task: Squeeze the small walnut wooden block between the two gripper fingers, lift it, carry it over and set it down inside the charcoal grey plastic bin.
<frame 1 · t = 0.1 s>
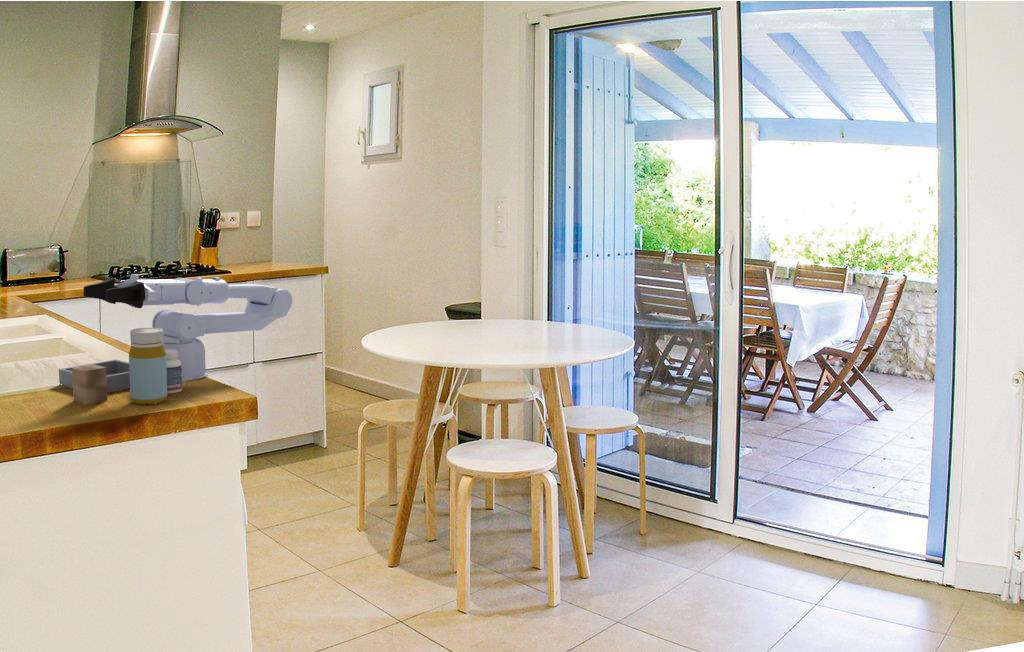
hand: (95, 293, 173), 22 cm above the worktop, tool horizontal, fingers open, 7 cm apart
pill bottle: (169, 391, 182), on the worktop
bin: (106, 384, 186), on the worktop
bottle: (149, 402, 173), on the worktop
walnut block: (90, 400, 172), on the worktop
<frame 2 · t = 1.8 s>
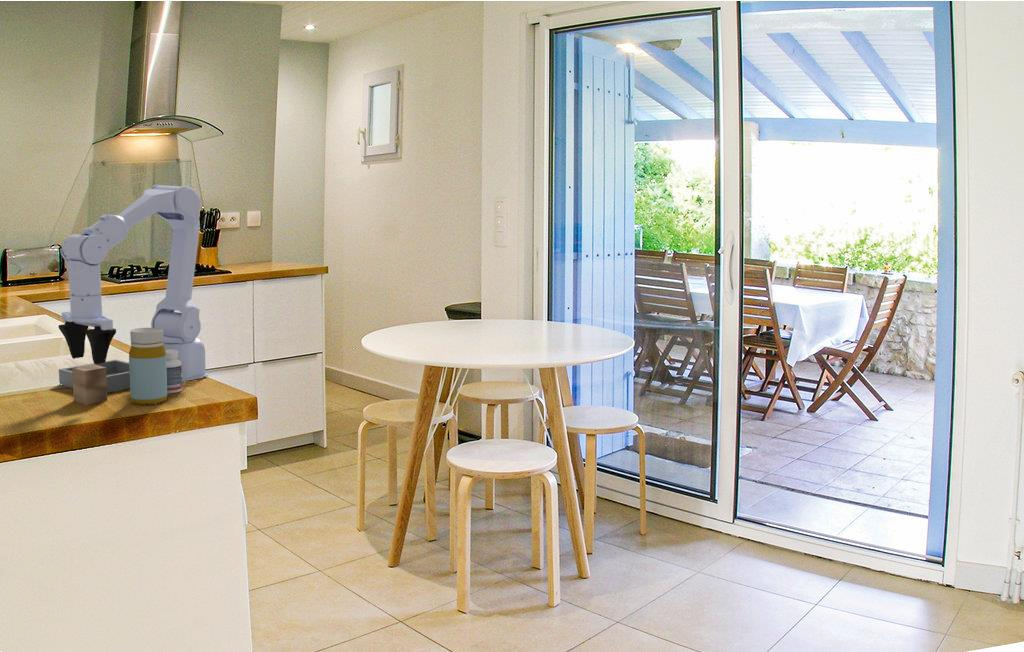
hand: (88, 360, 171), 8 cm above the worktop, tool pointing down, fingers open, 7 cm apart
nothing on the worktop moved.
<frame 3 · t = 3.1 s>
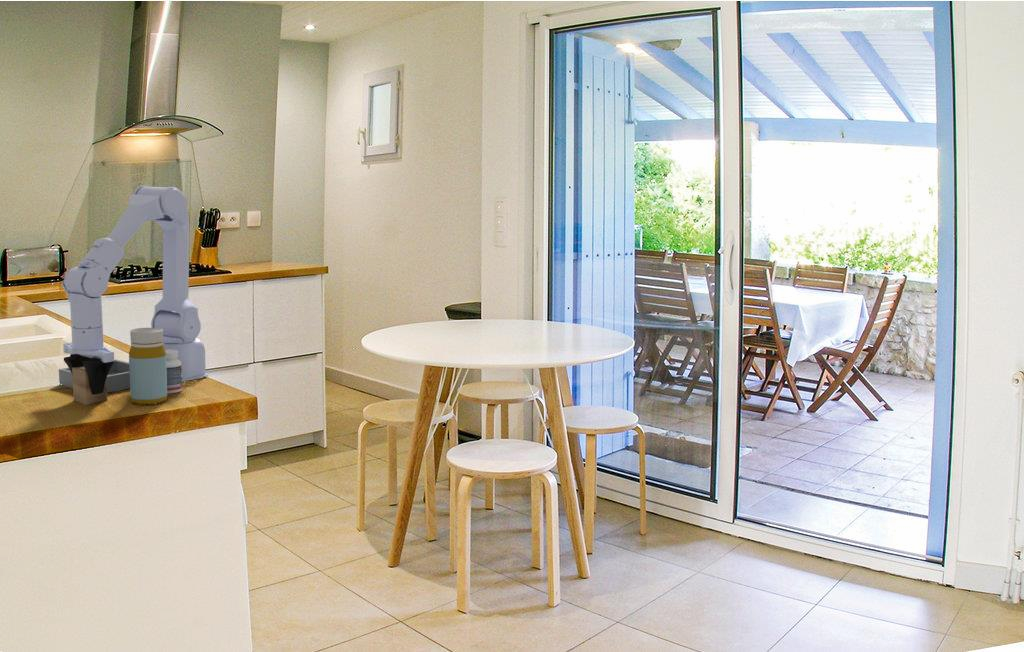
hand: (90, 391, 172), 2 cm above the worktop, tool pointing down, fingers closed on walnut block, 4 cm apart
walnut block: (90, 400, 172), on the worktop, touching gripper
everything else where it was.
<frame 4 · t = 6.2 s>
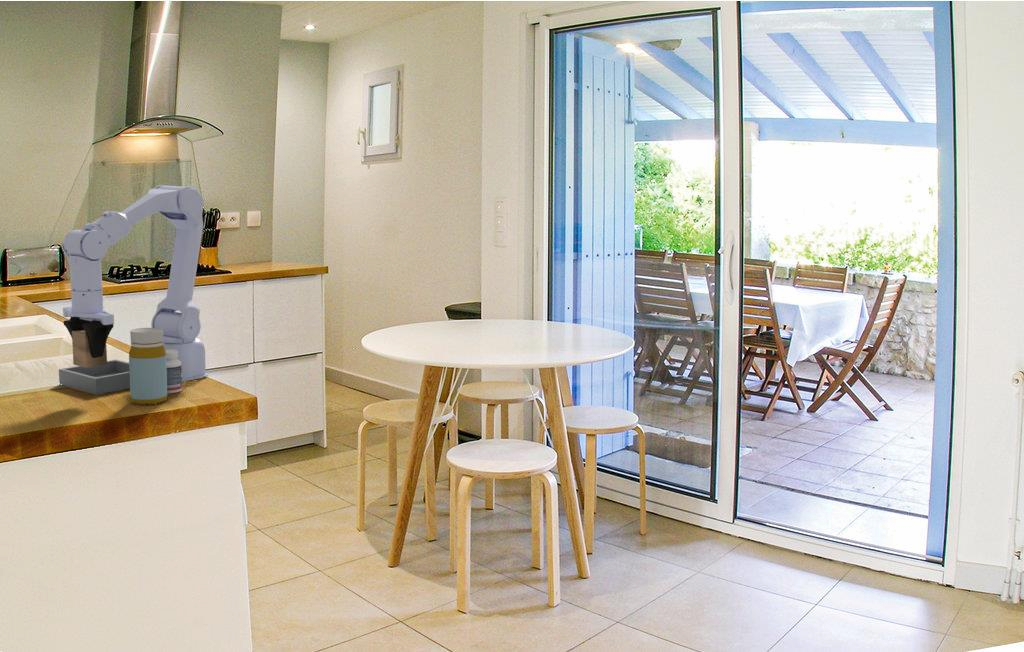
hand: (90, 355, 171), 9 cm above the worktop, tool pointing down, fingers closed on walnut block, 4 cm apart
walnut block: (90, 364, 172), point 7 cm above the worktop, touching gripper
everything else where it was.
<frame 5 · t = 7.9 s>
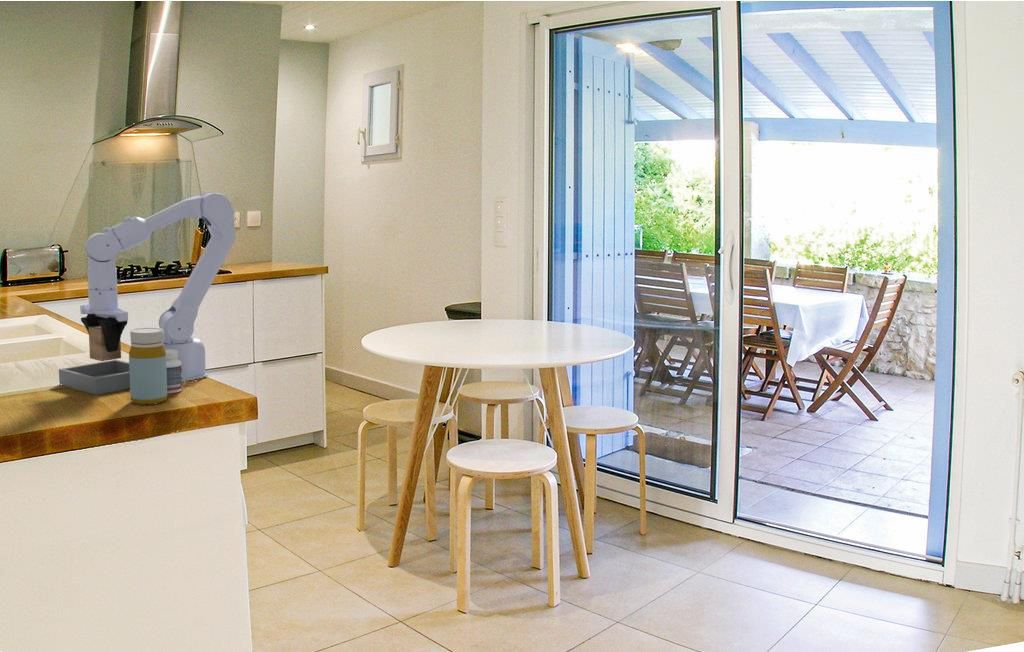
hand: (105, 349, 184), 8 cm above the worktop, tool pointing down, fingers closed on walnut block, 4 cm apart
walnut block: (105, 358, 185), point 6 cm above the worktop, touching gripper
everything else where it was.
when the fingers open (3 cm above the worktop, at t = 9.3 s): walnut block stays where it is, resting on bin.
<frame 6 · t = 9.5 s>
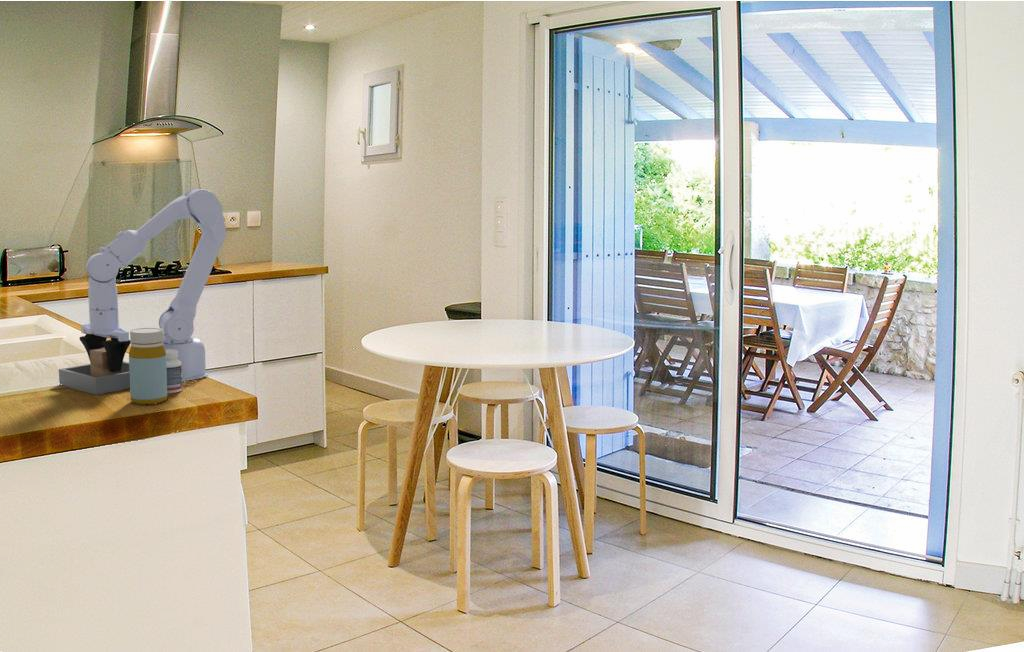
hand: (106, 369, 185), 3 cm above the worktop, tool pointing down, fingers open, 6 cm apart
walnut block: (106, 380, 185), point 1 cm above the worktop, touching bin
everything else where it was.
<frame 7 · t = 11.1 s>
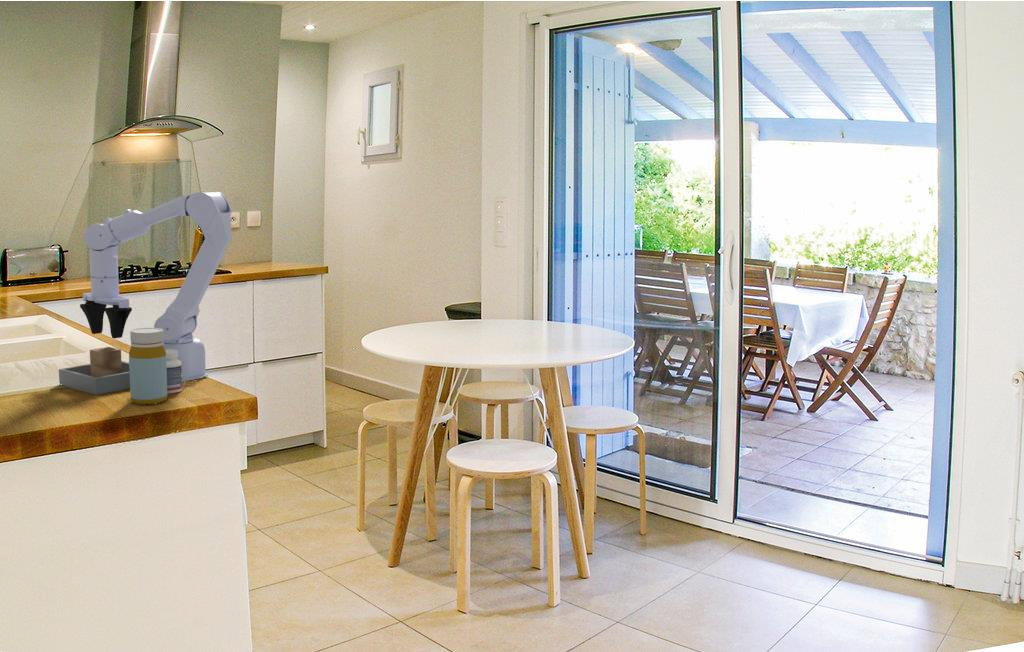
hand: (106, 335, 192), 9 cm above the worktop, tool pointing down, fingers open, 7 cm apart
nothing on the worktop moved.
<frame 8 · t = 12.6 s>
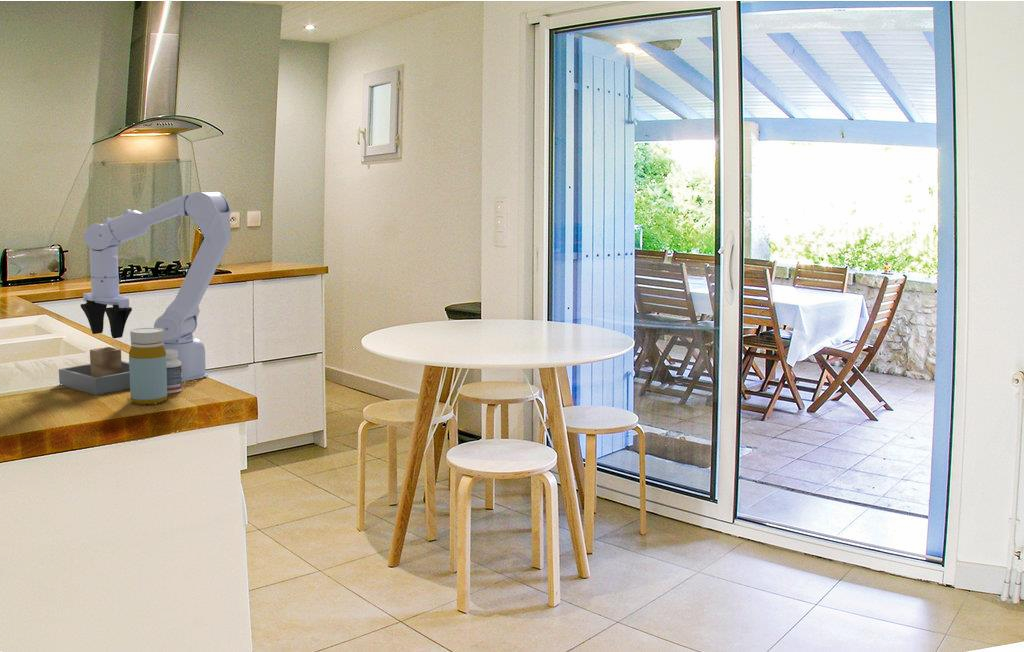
hand: (107, 335, 192), 9 cm above the worktop, tool pointing down, fingers open, 7 cm apart
nothing on the worktop moved.
at the end: walnut block inside the target area on the bin (0.0 cm from its centre), point 0.8 cm above the bin's base; walnut block tilted 0°; the gripper is holding nothing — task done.
